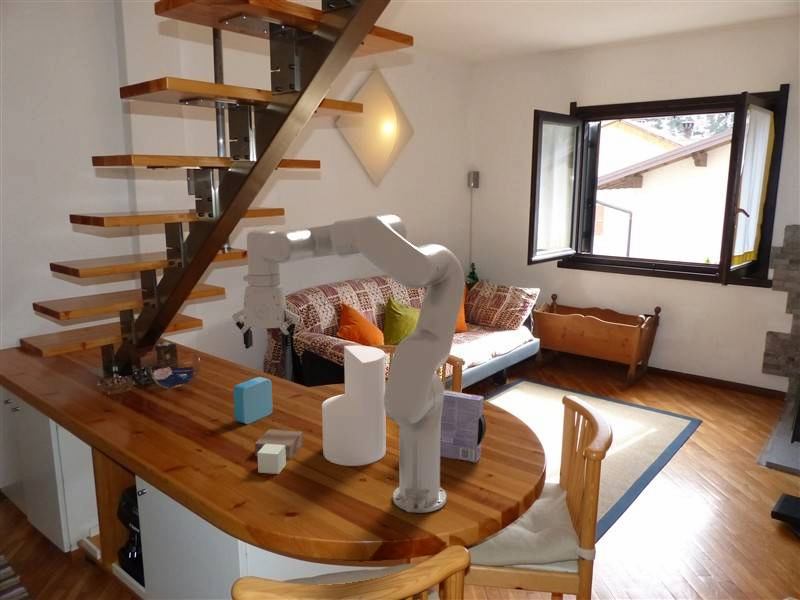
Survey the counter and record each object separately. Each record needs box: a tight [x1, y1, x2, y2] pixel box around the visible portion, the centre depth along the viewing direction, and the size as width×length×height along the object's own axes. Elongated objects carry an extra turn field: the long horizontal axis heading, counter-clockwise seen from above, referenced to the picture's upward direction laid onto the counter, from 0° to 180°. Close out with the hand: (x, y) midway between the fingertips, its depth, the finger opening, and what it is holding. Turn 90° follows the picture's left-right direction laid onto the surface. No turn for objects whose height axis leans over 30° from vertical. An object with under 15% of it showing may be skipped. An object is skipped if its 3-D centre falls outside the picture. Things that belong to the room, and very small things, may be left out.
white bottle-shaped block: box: [321, 345, 387, 467], centre depth 165 cm, size 17×17×28 cm
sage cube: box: [257, 444, 287, 475], centre depth 158 cm, size 6×6×6 cm
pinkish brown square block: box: [254, 428, 304, 460], centre depth 169 cm, size 10×10×4 cm
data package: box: [233, 376, 274, 425], centre depth 191 cm, size 12×4×12 cm, turn 146°
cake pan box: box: [440, 390, 487, 463], centre depth 164 cm, size 19×5×18 cm, turn 68°
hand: (267, 348), depth 152 cm, fingers open, 9 cm apart
